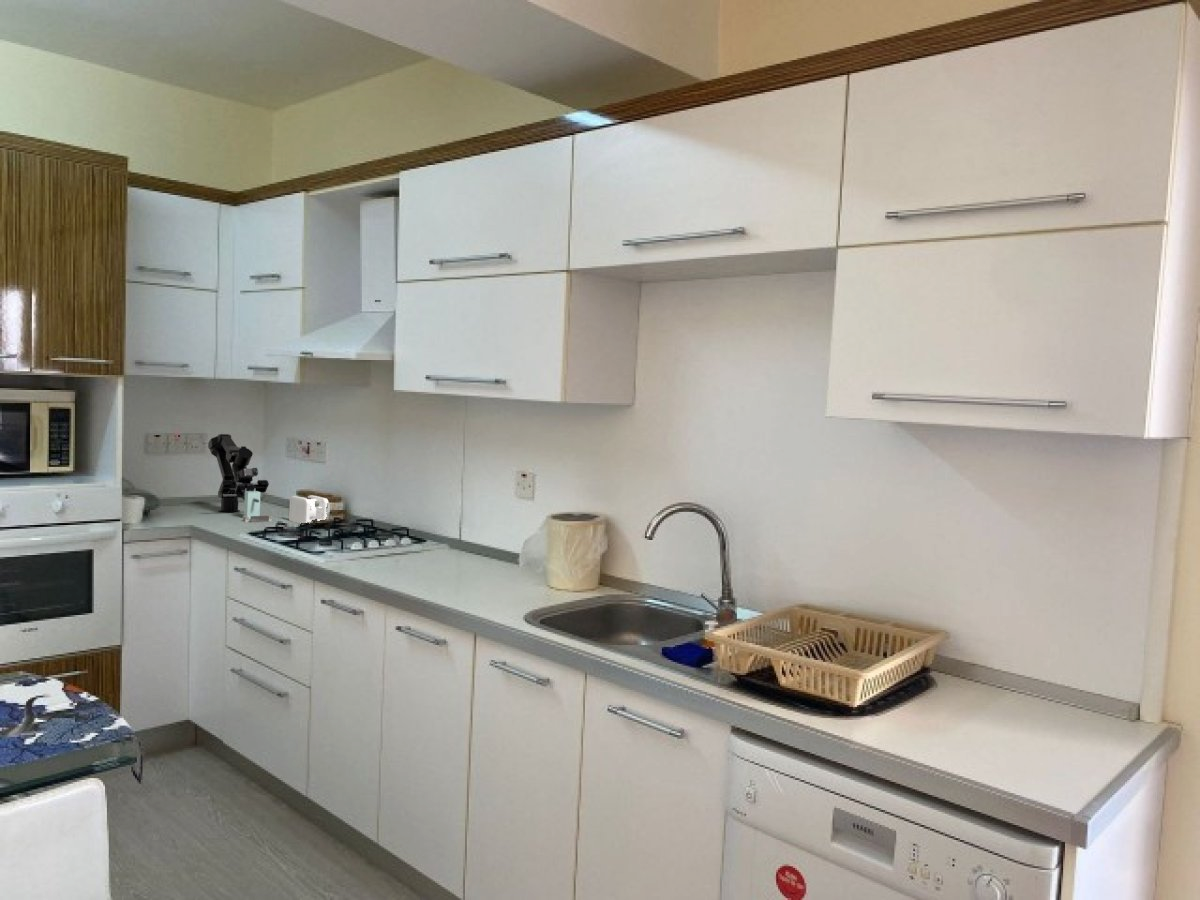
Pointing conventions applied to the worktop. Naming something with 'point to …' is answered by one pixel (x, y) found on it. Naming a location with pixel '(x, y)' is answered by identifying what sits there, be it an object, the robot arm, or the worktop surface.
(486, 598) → the worktop surface
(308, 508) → the cable organizer
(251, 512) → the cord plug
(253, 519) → the comb rail
